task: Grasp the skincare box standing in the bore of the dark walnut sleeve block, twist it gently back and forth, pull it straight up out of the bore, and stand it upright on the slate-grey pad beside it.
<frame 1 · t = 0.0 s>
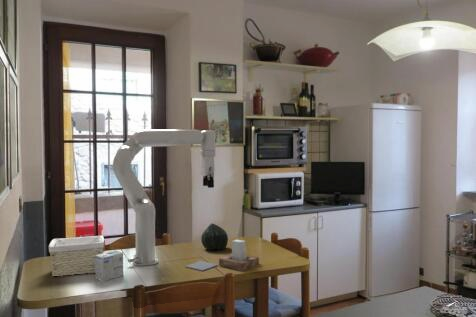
hand: (208, 186, 220), 37 cm above the table, tool pointing down, fingers open, 9 cm apart
light bulb box: (109, 277, 188), on the table
squash: (214, 249, 238), on the table
skincare box: (239, 265, 207), resting in sleeve block
storage basket: (78, 271, 197), on the table
slate pad: (201, 266, 204), on the table
sleeve block: (239, 264, 207), on the table
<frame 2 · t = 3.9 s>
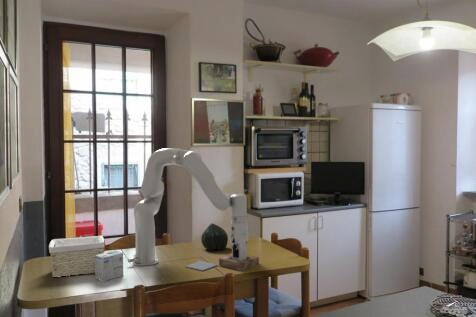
hand: (239, 255, 206), 5 cm above the table, tool pointing down, fingers closed on skincare box, 4 cm apart
skincare box: (239, 265, 207), resting in sleeve block, touching gripper
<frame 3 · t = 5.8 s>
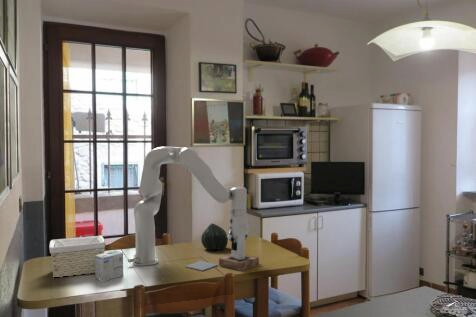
hand: (238, 248, 206), 8 cm above the table, tool pointing down, fingers closed on skincare box, 4 cm apart
skincare box: (237, 258, 206), point 3 cm above the table, touching gripper
everything else where it was.
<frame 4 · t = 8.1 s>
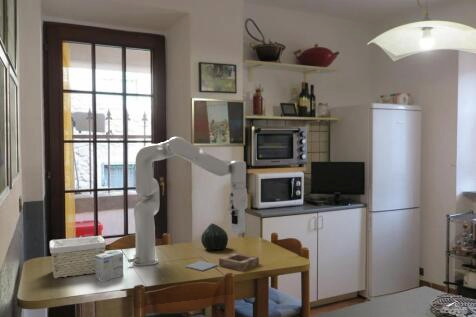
hand: (237, 222, 206), 21 cm above the table, tool pointing down, fingers closed on skincare box, 4 cm apart
skincare box: (237, 232, 206), point 16 cm above the table, touching gripper
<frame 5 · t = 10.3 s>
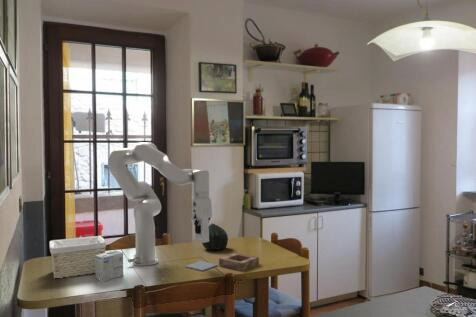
hand: (201, 232, 203), 17 cm above the table, tool pointing down, fingers closed on skincare box, 4 cm apart
skincare box: (201, 241, 203), point 12 cm above the table, touching gripper
when the fingers open (7 cm above the table, at t = 12.3 s): skincare box drops 2 cm, resting on slate pad.
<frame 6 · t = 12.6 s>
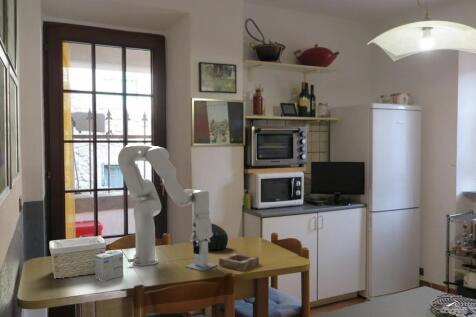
hand: (201, 251, 204), 7 cm above the table, tool pointing down, fingers open, 6 cm apart
skincare box: (201, 265, 204), resting on slate pad
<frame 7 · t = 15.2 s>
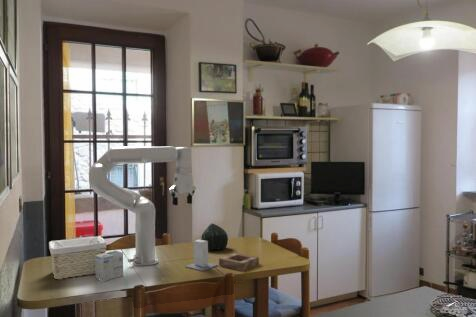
hand: (182, 204, 216), 29 cm above the table, tool pointing down, fingers open, 9 cm apart
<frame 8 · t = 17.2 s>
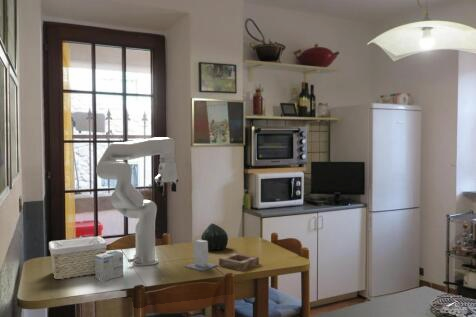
hand: (167, 192, 228), 33 cm above the table, tool pointing down, fingers open, 9 cm apart
at the end: skincare box inside the target area on the slate pad (0.3 cm from its centre), point 0.4 cm above the slate pad's base; skincare box tilted 0°; the gripper is holding nothing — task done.
